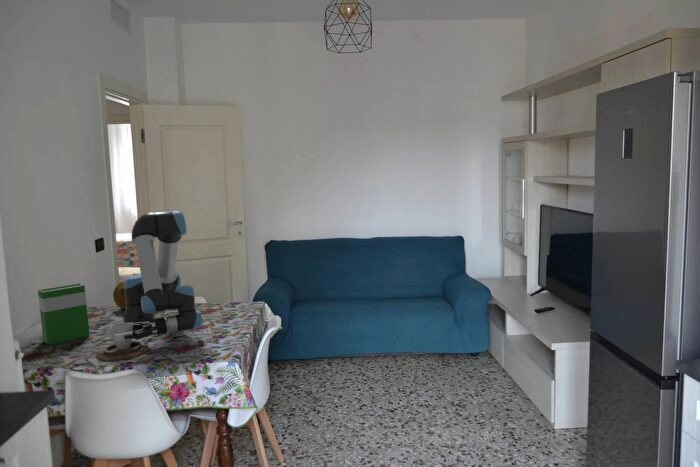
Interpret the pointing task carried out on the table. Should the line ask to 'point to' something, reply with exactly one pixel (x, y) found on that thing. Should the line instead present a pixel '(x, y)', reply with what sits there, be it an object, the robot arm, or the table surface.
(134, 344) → the round tray
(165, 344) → the table surface
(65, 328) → the hardback book
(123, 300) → the decorative pumpkin
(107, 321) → the table surface
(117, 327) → the cup
